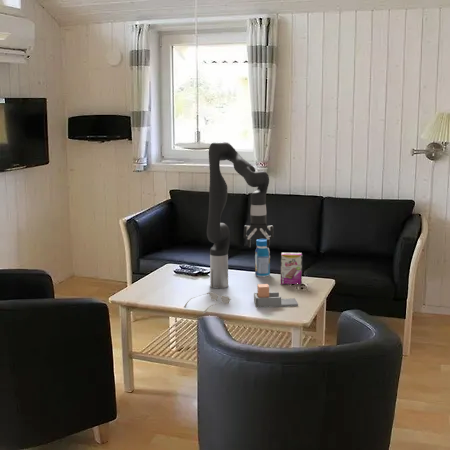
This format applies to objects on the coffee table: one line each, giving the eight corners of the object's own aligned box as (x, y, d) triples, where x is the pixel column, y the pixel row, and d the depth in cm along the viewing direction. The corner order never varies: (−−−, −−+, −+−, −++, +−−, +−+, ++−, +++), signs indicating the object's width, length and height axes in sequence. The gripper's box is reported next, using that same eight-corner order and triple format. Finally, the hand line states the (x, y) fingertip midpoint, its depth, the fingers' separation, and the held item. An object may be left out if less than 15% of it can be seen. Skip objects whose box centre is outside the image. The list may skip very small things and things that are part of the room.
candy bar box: (280, 284, 353) (280, 254, 349) (280, 282, 357) (280, 252, 354) (301, 285, 352) (302, 254, 348) (301, 282, 356) (302, 252, 353)
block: (258, 303, 318) (258, 287, 317) (257, 300, 323) (257, 284, 321) (269, 303, 318) (269, 286, 317) (267, 299, 323) (267, 283, 322)
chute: (256, 307, 316) (256, 298, 315) (254, 301, 325) (253, 292, 324) (298, 306, 318) (298, 296, 317) (294, 300, 326) (294, 291, 326)
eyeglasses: (231, 305, 321) (231, 297, 321) (204, 314, 309) (204, 306, 308) (209, 299, 332) (209, 291, 331) (182, 307, 319) (181, 299, 319)
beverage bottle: (262, 278, 365) (261, 242, 361) (251, 275, 372) (251, 239, 368) (273, 275, 371) (273, 240, 367) (263, 272, 377) (262, 237, 373)
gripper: (242, 215, 316) (243, 248, 319) (273, 215, 314) (273, 248, 317) (244, 212, 323) (244, 245, 326) (273, 212, 321) (273, 245, 325)
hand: (258, 246), depth 322 cm, fingers open, 8 cm apart
